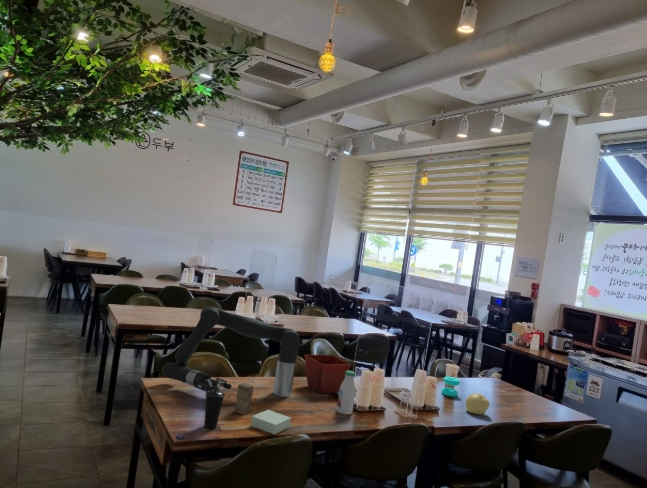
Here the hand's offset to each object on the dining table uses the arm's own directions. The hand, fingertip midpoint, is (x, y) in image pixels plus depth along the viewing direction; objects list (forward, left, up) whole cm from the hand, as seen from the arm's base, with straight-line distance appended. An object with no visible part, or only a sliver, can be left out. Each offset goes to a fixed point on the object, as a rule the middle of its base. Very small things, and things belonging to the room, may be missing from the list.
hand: (225, 389), depth 232 cm
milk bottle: (-40, +43, -7) cm, 59 cm away
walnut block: (0, +11, -7) cm, 13 cm away
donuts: (-125, +74, -7) cm, 146 cm away
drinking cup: (+24, +13, -7) cm, 28 cm away
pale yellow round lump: (-103, +94, -7) cm, 140 cm away
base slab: (+4, +29, -7) cm, 30 cm away
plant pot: (-63, +19, -7) cm, 66 cm away
